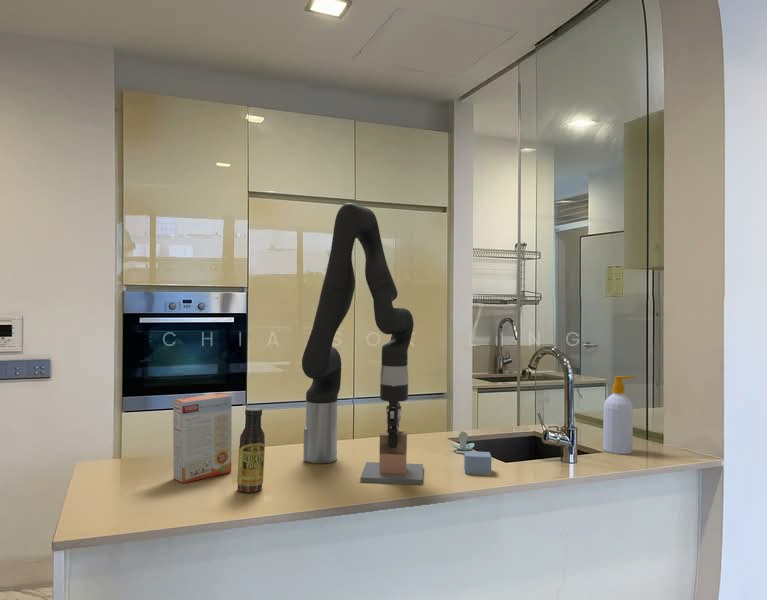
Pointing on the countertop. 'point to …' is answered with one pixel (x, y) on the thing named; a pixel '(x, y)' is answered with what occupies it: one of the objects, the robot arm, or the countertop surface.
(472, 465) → the slate block
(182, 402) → the cracker box
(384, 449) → the walnut block
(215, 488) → the countertop surface
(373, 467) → the baseplate
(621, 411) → the soap bottle
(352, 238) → the robot arm
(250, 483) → the sauce bottle
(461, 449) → the pacifier
